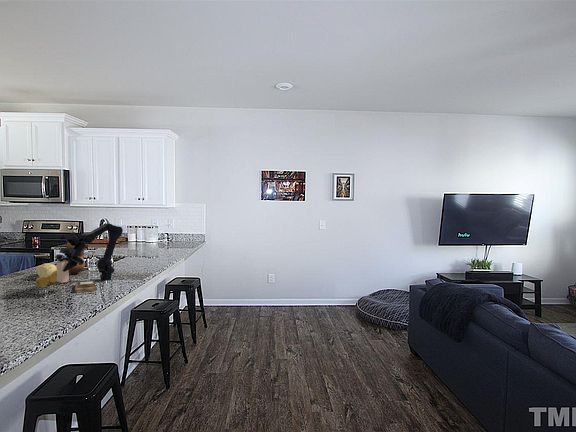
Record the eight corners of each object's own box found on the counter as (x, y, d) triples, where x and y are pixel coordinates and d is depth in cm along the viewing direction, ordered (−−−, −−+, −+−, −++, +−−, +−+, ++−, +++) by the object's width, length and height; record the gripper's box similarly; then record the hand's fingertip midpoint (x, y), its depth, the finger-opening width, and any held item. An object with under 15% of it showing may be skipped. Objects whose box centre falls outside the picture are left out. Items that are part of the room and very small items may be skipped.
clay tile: (92, 284, 237) (92, 281, 236) (92, 286, 232) (92, 283, 232) (80, 285, 233) (80, 282, 233) (80, 287, 229) (80, 284, 229)
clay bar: (63, 280, 223) (63, 260, 222) (68, 281, 221) (68, 261, 220) (56, 281, 219) (56, 262, 218) (62, 282, 217) (61, 262, 216)
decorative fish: (64, 278, 249) (61, 265, 247) (68, 279, 249) (65, 265, 246) (36, 293, 229) (33, 279, 226) (41, 294, 228) (37, 279, 225)
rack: (95, 285, 239) (95, 280, 239) (95, 293, 220) (95, 288, 220) (75, 287, 234) (75, 282, 233) (74, 295, 215) (74, 289, 215)
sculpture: (33, 279, 252) (33, 263, 251) (49, 275, 263) (49, 261, 263) (45, 280, 248) (45, 265, 248) (61, 277, 259) (61, 262, 259)
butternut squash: (80, 275, 267) (80, 241, 266) (60, 275, 265) (60, 241, 264) (87, 271, 281) (87, 239, 280) (68, 271, 279) (68, 239, 277)
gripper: (57, 241, 226) (40, 261, 216) (79, 243, 219) (62, 264, 209) (69, 252, 233) (53, 272, 224) (91, 254, 227) (75, 275, 217)
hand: (60, 271), depth 218 cm, fingers closed on clay bar, 4 cm apart
